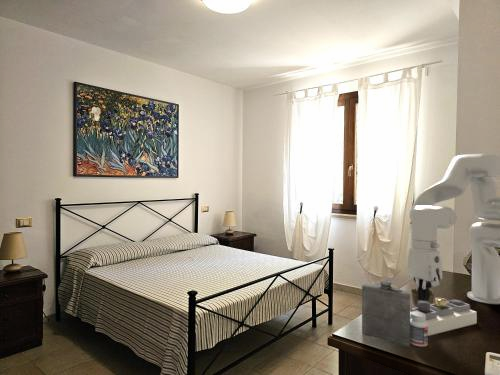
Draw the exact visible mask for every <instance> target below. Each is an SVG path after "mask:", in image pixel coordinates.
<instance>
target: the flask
mask: <svg viewBox="0 0 500 375" xmlns="http://www.w3.org/2000/svg"><path fill="white" fill-rule="evenodd" d="M379 284H380V285H378V284H370V283H369V284H368V283H362V284H361V334H362V335H363V336H367V337H372V338H375V339H376V338H377V339H379V340H383V341H387V342H390V343H394V344H397V345H399V346H402V347H411V343H410V312H411V292H409V291H408V290H407V291H406V290H403V289H399V288H396V287H392V286H391V285H392V281H391V280H386V279H382V280H379Z"/></svg>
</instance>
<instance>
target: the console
mask: <svg viewBox="0 0 500 375" xmlns="http://www.w3.org/2000/svg"><path fill="white" fill-rule="evenodd" d="M451 300H452V299H451ZM451 300H447V309H440V308H437V307H435V303H433V304H431V305H430V312H429V313H424V312H422V313H424V314H425V315H426V320H425V321H426V322H427V324H428V337H429V336H433V335H437V334H441V333H444V332H449V331H453V330H456V329H460V328H464V327H469V326H472V325H476V324H477V319H478V317H477V313H478V312H477V311H475V310H473V309H471V305H470V304H469V303H466V302H464V301H462V302H463V305H462V306H457V305H454V304H451ZM413 311H418V307H413V308H410V319H412V318H411V312H413ZM418 312H420V311H418Z"/></svg>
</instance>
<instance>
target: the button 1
mask: <svg viewBox="0 0 500 375" xmlns="http://www.w3.org/2000/svg"><path fill="white" fill-rule="evenodd" d="M418 311H420V312H424V313H429V312H430V303H429V302H426V301H418Z"/></svg>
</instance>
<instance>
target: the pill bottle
mask: <svg viewBox="0 0 500 375" xmlns="http://www.w3.org/2000/svg"><path fill="white" fill-rule="evenodd" d="M410 312H411V311H410ZM411 318H412V319H410V345H413V346H417V347H420V348H421V347H427V346H428V344H429V343H428V342H429V336H428V324H427V322H426V321H425V320H426V315H425V314H424V313H422V312H418V311H413V312H411Z"/></svg>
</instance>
